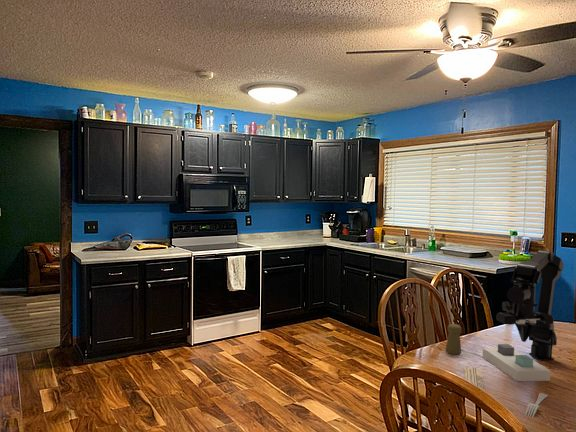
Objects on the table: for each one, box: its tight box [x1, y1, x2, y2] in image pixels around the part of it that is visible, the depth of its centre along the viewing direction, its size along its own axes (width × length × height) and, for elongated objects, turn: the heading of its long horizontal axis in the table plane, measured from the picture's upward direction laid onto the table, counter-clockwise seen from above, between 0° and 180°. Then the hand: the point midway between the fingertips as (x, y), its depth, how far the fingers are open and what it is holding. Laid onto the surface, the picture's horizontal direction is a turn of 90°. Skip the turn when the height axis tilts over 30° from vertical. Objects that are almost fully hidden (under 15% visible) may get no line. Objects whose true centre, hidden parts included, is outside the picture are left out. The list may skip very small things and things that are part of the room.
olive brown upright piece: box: [445, 323, 462, 355], centre depth 177 cm, size 6×6×11 cm
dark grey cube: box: [497, 343, 515, 356], centre depth 167 cm, size 4×4×4 cm
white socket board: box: [482, 347, 551, 382], centre depth 162 cm, size 12×22×4 cm, turn 6°
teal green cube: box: [515, 354, 534, 367], centre depth 156 cm, size 4×4×4 cm
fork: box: [525, 392, 549, 419], centre depth 134 cm, size 3×21×3 cm, turn 139°
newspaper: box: [463, 366, 486, 392], centre depth 148 cm, size 24×7×2 cm, turn 159°
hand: (523, 341), depth 159 cm, fingers closed
